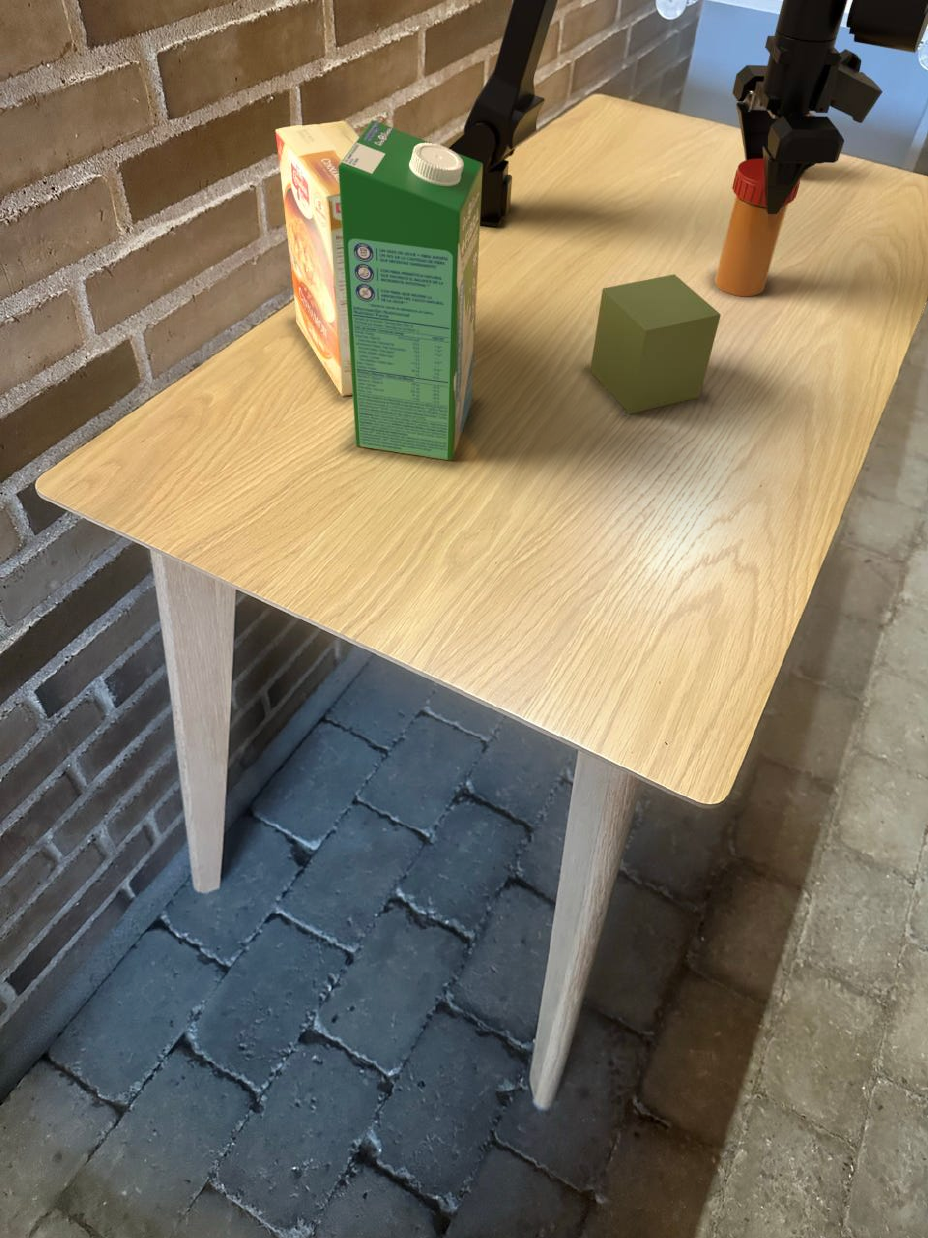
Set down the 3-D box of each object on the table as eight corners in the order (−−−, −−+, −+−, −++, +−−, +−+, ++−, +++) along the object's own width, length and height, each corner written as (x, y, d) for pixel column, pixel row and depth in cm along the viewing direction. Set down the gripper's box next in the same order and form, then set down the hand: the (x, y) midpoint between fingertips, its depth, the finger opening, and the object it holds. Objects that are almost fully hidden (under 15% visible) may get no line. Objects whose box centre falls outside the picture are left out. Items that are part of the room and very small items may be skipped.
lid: (796, 184, 102) (802, 162, 100) (794, 210, 98) (800, 188, 96) (734, 175, 103) (739, 154, 101) (729, 201, 99) (735, 178, 97)
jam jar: (713, 291, 107) (739, 184, 98) (716, 269, 110) (742, 164, 101) (762, 299, 106) (793, 192, 97) (764, 276, 110) (794, 171, 101)
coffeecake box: (294, 322, 99) (272, 126, 85) (357, 310, 101) (347, 117, 87) (339, 398, 90) (324, 194, 76) (408, 383, 92) (406, 182, 78)
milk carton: (452, 461, 84) (461, 178, 66) (355, 446, 85) (337, 163, 67) (471, 404, 90) (484, 130, 72) (380, 391, 91) (370, 117, 73)
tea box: (589, 370, 95) (602, 288, 88) (657, 355, 97) (674, 273, 91) (629, 414, 90) (646, 330, 83) (699, 397, 92) (721, 314, 86)
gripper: (925, 67, 83) (864, 238, 95) (857, 5, 96) (811, 162, 107) (802, 64, 83) (755, 237, 94) (750, 2, 95) (715, 161, 107)
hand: (762, 197), depth 101 cm, fingers open, 7 cm apart
